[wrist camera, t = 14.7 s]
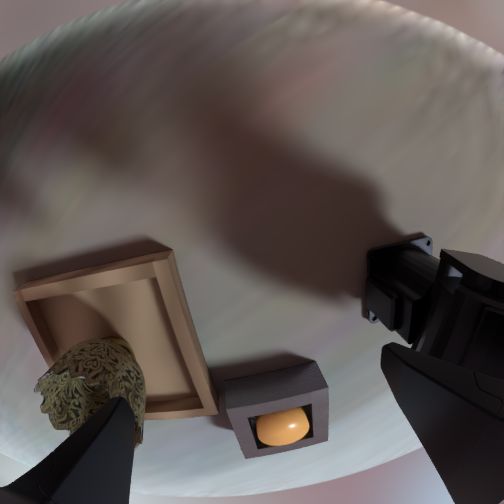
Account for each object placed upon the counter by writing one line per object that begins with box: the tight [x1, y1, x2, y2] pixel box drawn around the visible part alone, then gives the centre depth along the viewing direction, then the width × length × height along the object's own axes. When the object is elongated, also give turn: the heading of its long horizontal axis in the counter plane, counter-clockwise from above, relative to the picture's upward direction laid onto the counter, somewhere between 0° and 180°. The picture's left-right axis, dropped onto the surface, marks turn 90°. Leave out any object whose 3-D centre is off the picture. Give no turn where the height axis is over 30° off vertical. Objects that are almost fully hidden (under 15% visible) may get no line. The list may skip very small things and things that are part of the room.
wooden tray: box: [13, 250, 219, 420], centre depth 20 cm, size 14×14×2 cm
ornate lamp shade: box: [34, 336, 146, 451], centre depth 16 cm, size 8×7×8 cm
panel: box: [224, 361, 329, 459], centre depth 22 cm, size 8×8×4 cm
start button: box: [255, 406, 309, 446], centre depth 21 cm, size 4×4×2 cm
